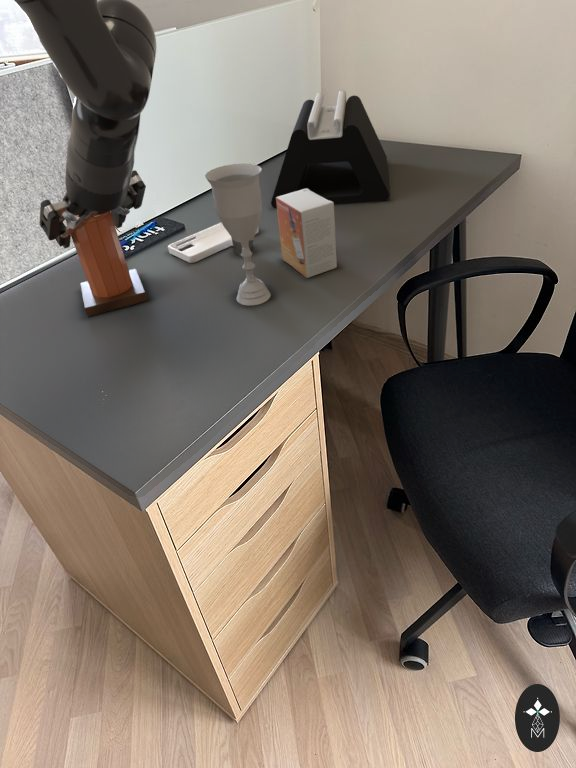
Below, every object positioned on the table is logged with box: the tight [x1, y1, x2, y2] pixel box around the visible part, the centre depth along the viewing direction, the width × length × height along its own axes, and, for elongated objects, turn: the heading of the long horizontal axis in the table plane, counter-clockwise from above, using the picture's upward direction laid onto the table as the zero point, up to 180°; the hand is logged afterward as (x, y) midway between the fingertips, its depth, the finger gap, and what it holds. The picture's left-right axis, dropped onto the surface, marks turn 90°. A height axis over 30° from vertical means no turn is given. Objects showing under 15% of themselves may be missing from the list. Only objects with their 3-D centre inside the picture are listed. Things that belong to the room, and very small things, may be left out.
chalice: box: [204, 163, 272, 306], centre depth 78 cm, size 7×7×18 cm
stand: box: [79, 268, 148, 318], centre depth 85 cm, size 9×9×12 cm
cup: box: [65, 211, 133, 297], centre depth 84 cm, size 6×6×12 cm
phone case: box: [167, 222, 260, 264], centre depth 99 cm, size 7×1×15 cm
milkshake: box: [229, 234, 254, 257], centre depth 92 cm, size 4×5×10 cm
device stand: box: [270, 89, 391, 209], centre depth 112 cm, size 22×22×15 cm
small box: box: [276, 188, 338, 279], centre depth 86 cm, size 8×6×10 cm
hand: (89, 232), depth 83 cm, fingers open, 8 cm apart
